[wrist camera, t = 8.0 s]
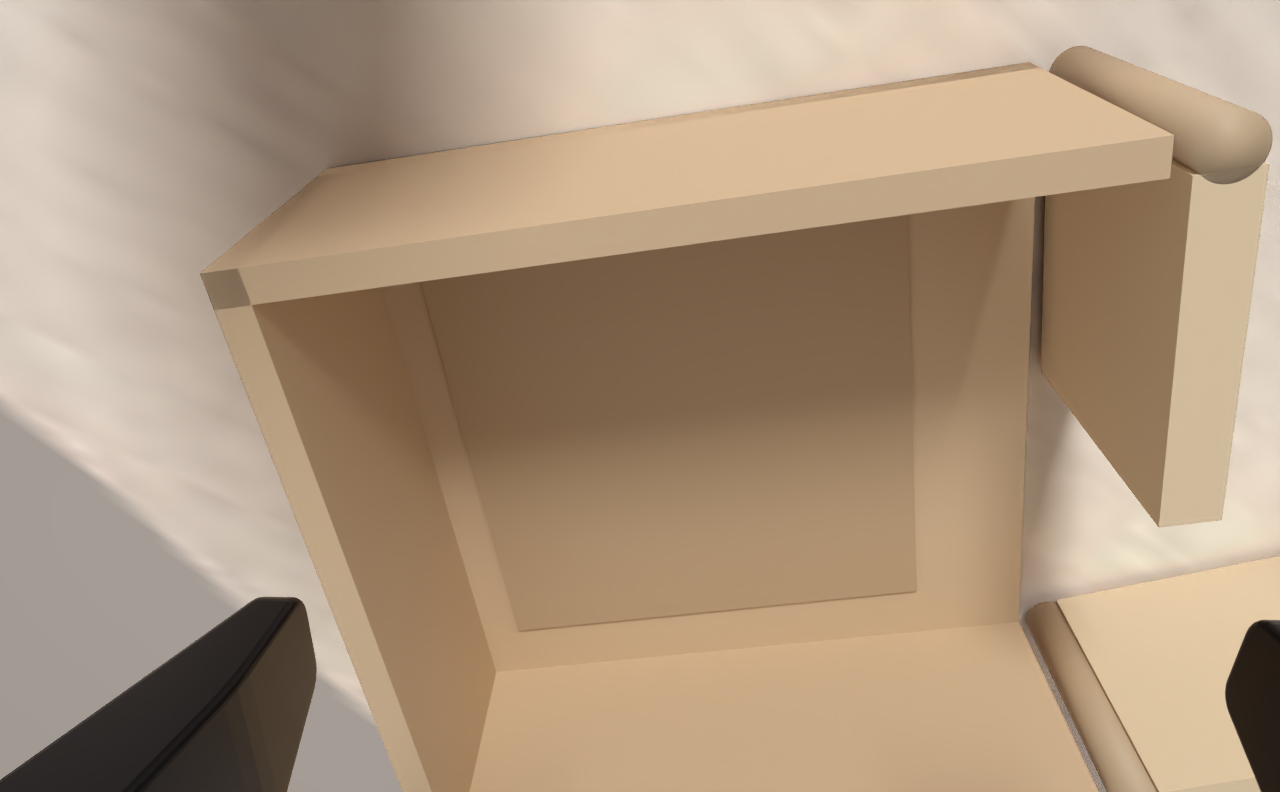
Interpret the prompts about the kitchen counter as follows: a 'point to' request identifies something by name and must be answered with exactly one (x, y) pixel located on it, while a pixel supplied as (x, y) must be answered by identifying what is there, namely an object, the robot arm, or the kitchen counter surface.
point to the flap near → (1158, 291)
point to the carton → (683, 438)
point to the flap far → (1158, 674)
